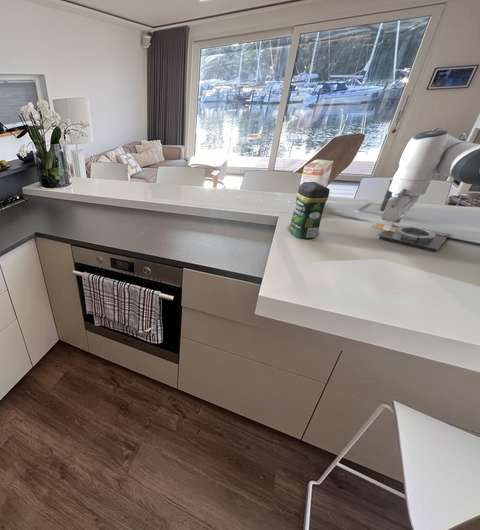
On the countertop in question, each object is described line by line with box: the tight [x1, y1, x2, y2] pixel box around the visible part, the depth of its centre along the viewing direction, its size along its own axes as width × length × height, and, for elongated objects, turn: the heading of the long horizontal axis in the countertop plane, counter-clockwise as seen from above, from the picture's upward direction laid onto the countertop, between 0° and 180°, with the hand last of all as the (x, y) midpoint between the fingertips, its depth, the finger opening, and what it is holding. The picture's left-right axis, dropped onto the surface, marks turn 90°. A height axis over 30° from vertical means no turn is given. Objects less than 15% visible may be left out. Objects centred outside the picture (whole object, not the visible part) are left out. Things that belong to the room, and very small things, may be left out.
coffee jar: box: [288, 182, 330, 240], centre depth 100 cm, size 10×8×19 cm
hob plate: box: [379, 224, 449, 253], centre depth 96 cm, size 14×14×1 cm
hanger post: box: [378, 176, 394, 212], centre depth 112 cm, size 12×12×14 cm
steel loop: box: [374, 222, 437, 242], centre depth 97 cm, size 15×9×1 cm, turn 36°
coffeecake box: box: [299, 159, 334, 188], centre depth 120 cm, size 15×7×20 cm, turn 134°
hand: (391, 226), depth 99 cm, fingers open, 8 cm apart
